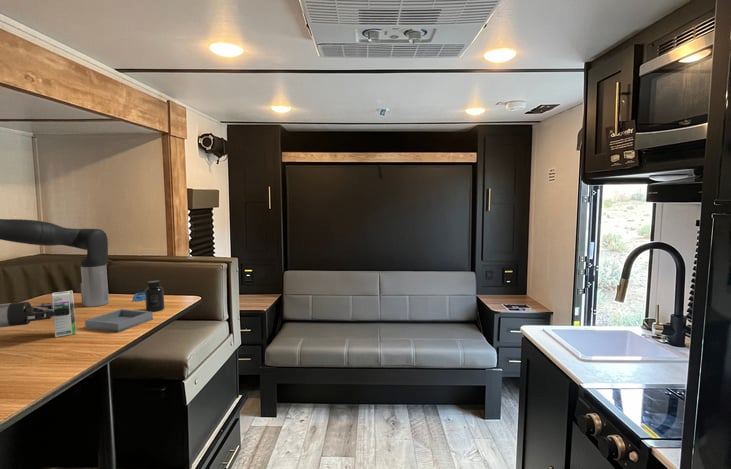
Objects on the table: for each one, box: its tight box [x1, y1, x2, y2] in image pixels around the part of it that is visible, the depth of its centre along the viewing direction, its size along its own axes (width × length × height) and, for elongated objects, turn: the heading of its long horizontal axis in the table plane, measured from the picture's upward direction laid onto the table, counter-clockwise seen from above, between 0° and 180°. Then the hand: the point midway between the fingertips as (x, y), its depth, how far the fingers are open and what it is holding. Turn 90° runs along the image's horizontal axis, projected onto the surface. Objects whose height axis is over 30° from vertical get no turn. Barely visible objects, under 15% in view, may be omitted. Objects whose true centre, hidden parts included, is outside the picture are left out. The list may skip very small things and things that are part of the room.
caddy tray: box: [84, 308, 154, 333], centre depth 146 cm, size 15×15×3 cm
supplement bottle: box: [144, 280, 165, 313], centre depth 164 cm, size 7×7×12 cm
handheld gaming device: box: [133, 292, 145, 302], centre depth 186 cm, size 8×1×15 cm
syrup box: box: [51, 290, 77, 338], centre depth 135 cm, size 6×6×14 cm
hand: (71, 308), depth 136 cm, fingers closed on syrup box, 6 cm apart
